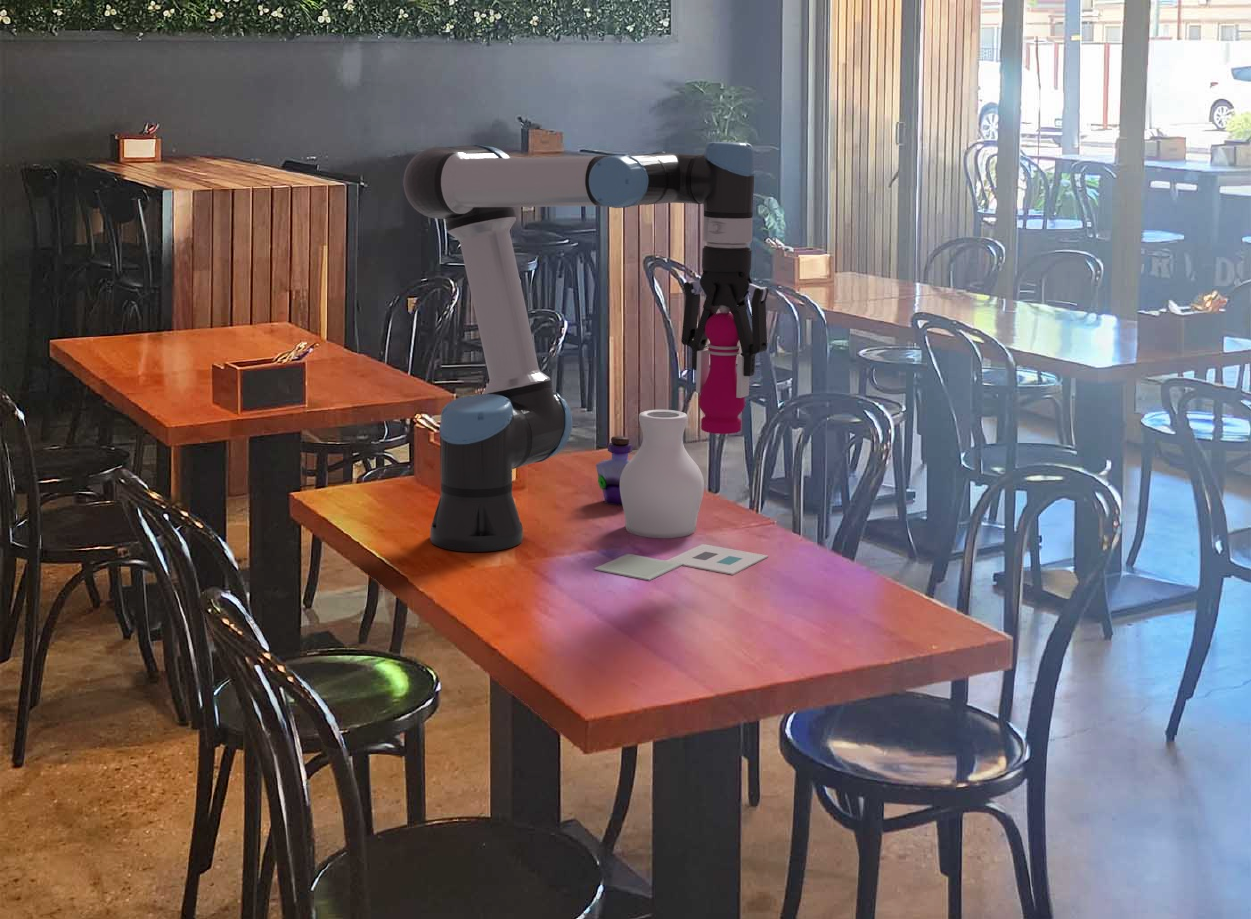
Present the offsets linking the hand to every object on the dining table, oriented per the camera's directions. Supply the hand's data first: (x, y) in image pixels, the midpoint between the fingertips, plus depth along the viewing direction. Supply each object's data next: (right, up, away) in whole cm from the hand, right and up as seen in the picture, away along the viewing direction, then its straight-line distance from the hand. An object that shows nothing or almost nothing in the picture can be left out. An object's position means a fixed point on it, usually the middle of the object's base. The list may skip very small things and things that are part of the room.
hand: (722, 393), depth 251 cm
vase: (-9, -22, +24) cm, 34 cm away
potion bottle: (-16, -18, +42) cm, 48 cm away
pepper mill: (0, -6, +1) cm, 6 cm away
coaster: (-13, -27, +1) cm, 30 cm away
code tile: (0, -26, +6) cm, 27 cm away
